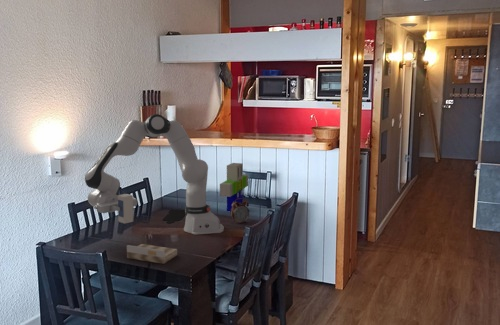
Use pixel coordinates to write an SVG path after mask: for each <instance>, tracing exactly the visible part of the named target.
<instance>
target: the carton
mask: <svg viewBox="0 0 500 325" xmlns="http://www.w3.org/2000/svg"><path fill="white" fill-rule="evenodd" d="M133 198H134V196H133V195H132V194H129V193H122V195H118V207H121V208H122V210H121V211H117V216H118V217H117V218H118V222H119V223H121V224H129V223H132V222H134V207H133Z"/></svg>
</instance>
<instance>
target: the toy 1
mask: <svg viewBox="0 0 500 325" xmlns="http://www.w3.org/2000/svg"><path fill="white" fill-rule="evenodd" d="M184 217H186V214H185V209H173V208H172V209H169V211H168V213H167V214H166V215H165V217H163V218H162V219H161V221H162V222H163V221H165V222H166V224H170V225H171V224H174V223H175V222H179V221H182V219H183V218H184Z"/></svg>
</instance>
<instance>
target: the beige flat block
mask: <svg viewBox="0 0 500 325" xmlns="http://www.w3.org/2000/svg"><path fill="white" fill-rule="evenodd" d="M177 256H178V248H172V247H165V246H164V247H163V246H158V245H152V244H146V243H141V244H138V245H137V246H136V245H130V244H128V245H127V244H126V258H127V259H131V260H132V259H133V260H138V261H143V262H144V261H145V262H150V263H157V264H166V263H167V262H169V261H171V260H172V259H173V258H176V257H177Z"/></svg>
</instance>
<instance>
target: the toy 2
mask: <svg viewBox="0 0 500 325" xmlns="http://www.w3.org/2000/svg"><path fill="white" fill-rule="evenodd" d="M243 164H244V163H243V162H242V163H241V162H232V163H231V162H230V163H229V164H227V165H226V180H225V181H222V182H221V183H219V196H220V197H226V212H227V211H230V212H231V209H232V203H233V201H234V202H238V203H241V204H242V202H243V201H244V199H238V198H244V196H243V191H244V190H243V189H245V188H247V187H248V186H249V174H243V171H244V170H243ZM236 199H237V200H236ZM235 200H236V201H235ZM230 212H229V213H230Z"/></svg>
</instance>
